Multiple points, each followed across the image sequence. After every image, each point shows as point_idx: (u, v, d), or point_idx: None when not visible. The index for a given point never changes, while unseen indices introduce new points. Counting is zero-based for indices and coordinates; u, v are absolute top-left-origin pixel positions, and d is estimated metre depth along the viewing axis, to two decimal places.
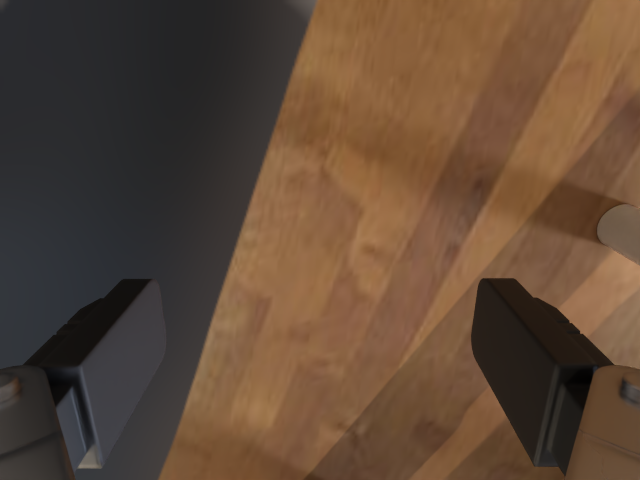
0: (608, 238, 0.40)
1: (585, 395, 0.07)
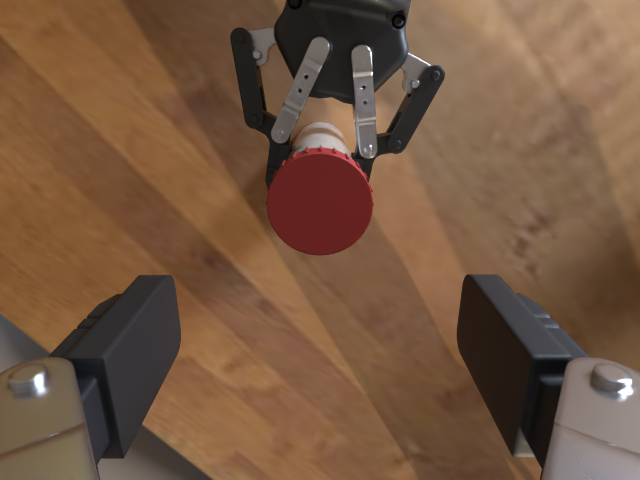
0: None
1: (559, 387, 0.07)
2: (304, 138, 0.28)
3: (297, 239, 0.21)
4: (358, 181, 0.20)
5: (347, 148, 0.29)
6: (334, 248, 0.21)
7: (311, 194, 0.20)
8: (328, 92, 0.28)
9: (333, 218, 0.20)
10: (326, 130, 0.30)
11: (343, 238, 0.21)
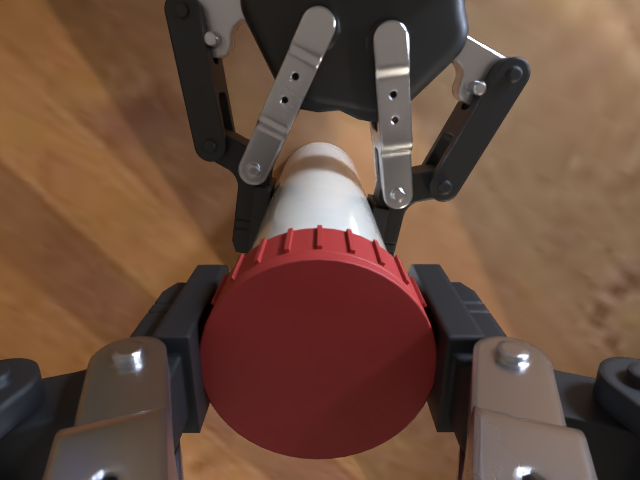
0: None
1: None
2: (293, 179, 0.17)
3: (269, 431, 0.09)
4: (407, 318, 0.08)
5: (363, 193, 0.18)
6: (349, 447, 0.10)
7: (298, 344, 0.09)
8: (333, 102, 0.17)
9: (348, 391, 0.09)
10: (329, 161, 0.19)
11: (369, 429, 0.09)
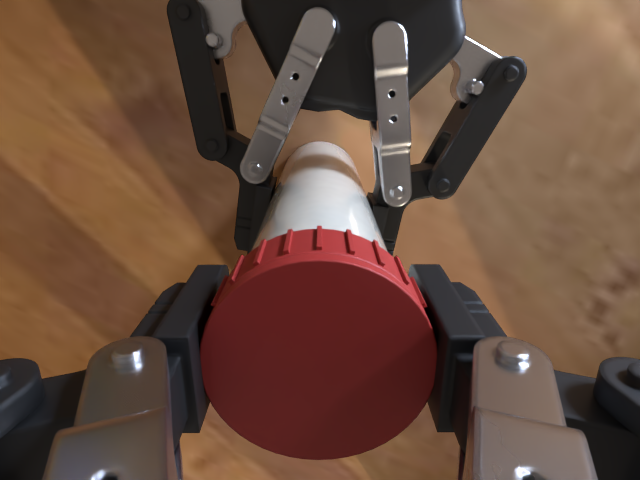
0: None
1: (472, 364, 0.08)
2: (293, 178, 0.17)
3: (394, 411, 0.09)
4: (255, 294, 0.08)
5: (363, 191, 0.18)
6: (422, 340, 0.09)
7: (291, 385, 0.09)
8: (333, 102, 0.17)
9: (347, 342, 0.09)
10: (329, 160, 0.19)
11: (398, 321, 0.08)
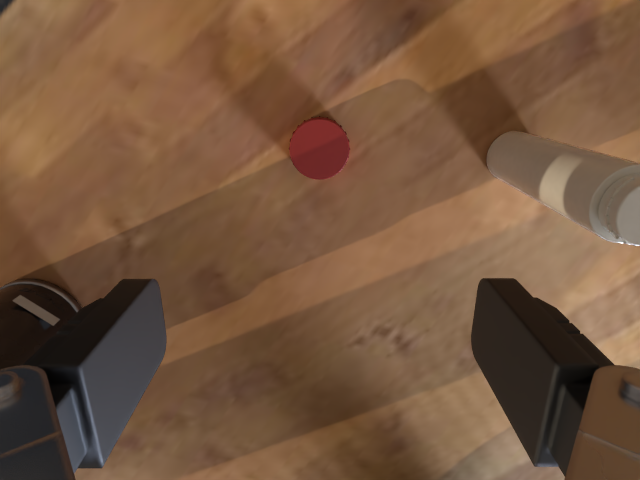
0: (496, 152, 0.36)
1: (585, 395, 0.07)
2: None
3: (339, 162, 0.36)
4: (304, 128, 0.35)
5: None
6: (344, 141, 0.35)
7: (312, 154, 0.36)
8: None
9: (326, 142, 0.35)
10: None
11: (338, 135, 0.35)
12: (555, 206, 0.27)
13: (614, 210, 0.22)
